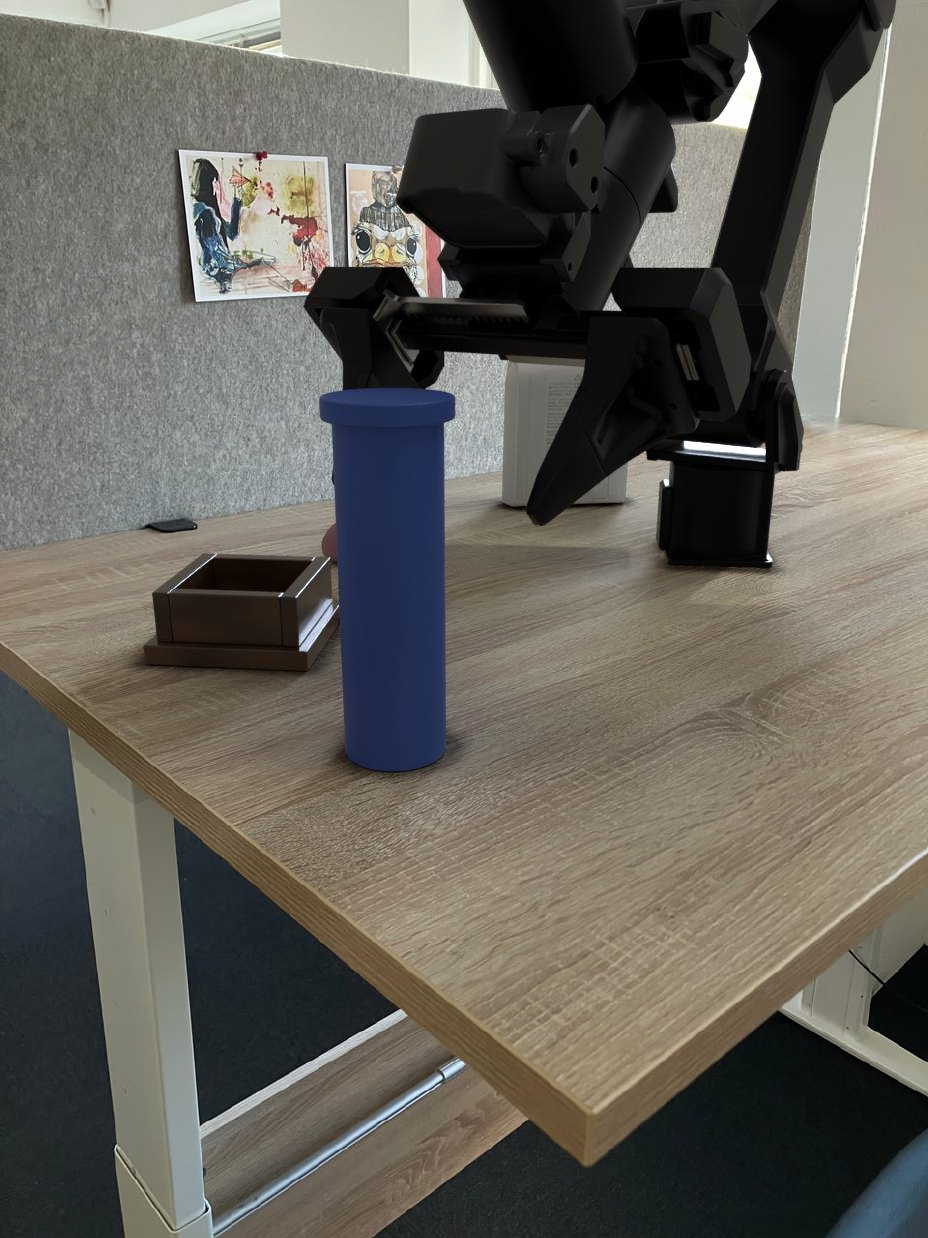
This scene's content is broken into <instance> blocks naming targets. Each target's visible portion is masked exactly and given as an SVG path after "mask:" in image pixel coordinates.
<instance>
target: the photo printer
mask: <svg viewBox="0 0 928 1238" xmlns="http://www.w3.org/2000/svg"><path fill="white" fill-rule="evenodd" d="M583 372H584V367H577V366H560V365H544V364H528V363H514V362H511V361H508V362H507V367H506V374H505V380H504V398H503V399H504V400H503V401H504V402H503V404H504V405H503V406H504V407H503V439H502V440H503V442H502V443H503V444H502V475H501V476H502V477H501V478H502V479H501V480H502V481H501V501H502V503H504V505H507V506H509V507H514V508H515V507H517V508H518V507H526V505H527V502H528V499H529V496H530V493H531V491H532V488H533V485H534V482H535V479H536V476H537V474H538V471H539V469H540V467H541V465H542V463H543V461H544V458H545V456H546V454H547V452H548V450H549V448H550V446H551V444H552V442H553V440H554V437H555V435H556V433H557V431H558V429H559V427H560V425H561V423H562V421H563V419H564V416H565V414H566V412H567V410H568V408H569V406H570V404H571V402H572V400H573V398H574V395H575V393H576V391H577V389H578V387H579V385H580V383H581V380H582V377H583ZM628 467H629V462H628V463H626V464H625V465H623V466H622V467H620V468H619V469H617V470H616V471H615V472H613V473H612V474H611V475H609V476H608V477H606V478H605V479H604V480H603V481H601V482H600V483H599V484H598V485H596V486H595V487H594V488H592V489H591V490H590V491H589V492H587V493H586V494H585V495H583V496H582V497H581V498H580V499H578V500H577V501H576V502H574V503H573V504H572V505H585V504H589V505H590V504H621V503H624V502H625V500H626V496H627V488H628V487H627V483H628V470H629V469H628Z"/></svg>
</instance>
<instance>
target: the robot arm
mask: <svg viewBox="0 0 928 1238" xmlns="http://www.w3.org/2000/svg"><path fill="white" fill-rule="evenodd" d="M462 2H463V5H464V8H465V10H466V13H467V15H468V17H469V20H470V22H471V24H472V27H473V29H474V31H475V32H474V33H475V34H476V36H477V39H478V41H479V44H480V47H481V48H482V51H483V53H484V56H485V58H486V61H487V63H488V66H489V68H490V70H491V72H492V75H493V78H494V79H495V82H496V85H497V87H498V90H499V92H500V94H501V97H502V99H503V102H504V104H505V106H506V108H502V107H488V108H477V109H467V110H457V111H456V110H455V111H446V112H435V113H427V114H426V113H425V114H422V115H419V116H418V117H417V118H416V119H415V121H414V125H413V128H412V133H411V136H410V137H411V138H410V141H409V145H408V149H407V152H406V153H407V154H406V157H405V161H404V164H403V168H402V172H401V177H400V181H399V185H398V188H397V192H396V195H395V203H396V205H397V207H398V208H399V209H400V210H401V211H402V212H403V213H404V214H406V215H413V216H415V217H416V218H417V219H418V220H419V221H421V223H423V224H424V225H425V227H427V228H428V229H429V230H430V231H432V232H433V234H434V235H436V236H437V237H438V238H439V239H441V241H443V242H445V243H444V245H443V247H442V249H441V251H440V253H439V254H438V256H437V258H436V261H437V262H438V264H439V266H440V269H441V270H442V272H443V273H444V275H445V277H446V279H447V281H449V282H458V284H459V287H460V288H461V291H460V293H459V294H458V297H439V296H438V297H435V296H434V297H433V296H421V294H420V293H419V291H418V289H417V288H416V287H415V285H414V283H413V281H412V279H411V278H410V276H409V275H408V273H407V271H406V270H405V268H404V266H324V267H323V269H322V270H321V272H320V274H319V276H318V277H317V279H316V280H315V282H314V284H313V285H312V288H311V289H310V290H309V292H308V294H307V295H306V298H305V300H304V303H303V307H302V308H303V309H304V311H305V312H306V313H307V315H308V316H309V318H310V320H312V321H313V324H314V325H315V326H316V327H317V329H318V330H319V331H320V333H321V334H322V336H323V337H324V338H325V340H326V341H327V342H328V344H329V345H330V346H331V348H332V349H333V351H334V352H335V354H336V355H337V356H338V358H339V359H340V360H341V363H342V390H352V389H366V388H416V389H429V388H430V387H431V386H433V385H435V384H436V382H437V381H438V379H439V377H440V375H441V373H442V371H443V369H444V368H445V365H446V364H445V353H459V354H460V353H461V354H477V355H478V354H479V355H495V356H497V357H498V358H499V360H500V361H508V362H509V361H511V362H514V363H528V364H544V365H560V366H577V367H584V372H583V377H582V380H581V383H580V385H579V387H578V389H577V391H576V393H575V395H574V398H573V400H572V402H571V404H570V406H569V408H568V410H567V412H566V414H565V416H564V419H563V421H562V423H561V425H560V427H559V429H558V431H557V433H556V435H555V437H554V440H553V442H552V444H551V446H550V448H549V450H548V452H547V454H546V456H545V458H544V461H543V463H542V465H541V467H540V469H539V471H538V474H537V476H536V479H535V482H534V485H533V488H532V491H531V493H530V496H529V499H528V502H527V505H526V506H525V513H526V516H527V517H528V519H529V520H530V522H531V523H532V525H533V526H536V527H545V526H546V525H548V524H549V523H550V522H552V521H553V520H554V519H556V518H557V517H558V516H559V515H561V514H562V513H563V512H564V511H566V510H567V509H569V507H571V506H572V505H574V504H573V503H574V502H576V501H577V500H578V499H580V498H581V497H582V496H583V495H585V494H586V493H587V492H589V491H590V490H591V489H592V488H594V487H595V486H596V485H598V484H599V483H600V482H601V481H603V480H604V479H605V478H606V477H608V476H609V475H611V474H612V473H613V472H615V471H616V470H617V469H619V468H620V467H622V466H623V465H625V464H626V463H628V464H629V462H631V461H632V460H634V459H635V458H637V457H639V456H640V455H642V454H643V453H645V455H646V457H645V458H646V460H647V461H649V462H650V461H651V462H657V461H662V462H669V469H668V471H669V473H668V478H666V479H665V478H664V479H661V480H660V481H659V486H658V498H657V499H658V500H657V502H658V503H657V517H656V533H655V540H656V543H657V547H658V548H659V549H660V551H663V553H664V557H665V560H666V564H667V565H668V566H674V567H699V568H700V567H703V568H732V569H733V568H734V569H735V568H736V569H765V570H766V569H767V570H768V569H772V568H773V563H774V560H773V559H772V557H771V555H770V553H769V552H768V550H769V548H768V547H769V539H770V532H771V531H770V529H771V522H772V521H771V519H772V512H773V511H772V510H773V499H774V490H775V480H776V475H777V474H779V473H782V472H784V473H786V472H798V471H799V470H800V465H801V457H802V456H801V455H802V452H803V448H804V444H803V441H804V435H805V429H804V424H803V419H802V416H801V410H800V407H799V403H798V397H797V394H796V389H795V386H794V381H793V377H792V371H793V360H792V357H791V354H790V352H789V348H788V346H787V342H786V339H785V337H784V335H783V332H782V329H781V326H780V323H779V319H778V318H779V314H780V310H781V306H782V301H783V298H784V294H785V291H786V287H787V283H788V279H789V276H790V272H791V268H792V264H793V260H794V256H795V253H796V249H797V246H798V243H799V242H798V241H799V238H800V234H801V231H802V226H803V222H804V219H805V215H806V211H807V208H808V204H809V201H810V196H811V193H812V189H813V186H814V182H815V178H816V175H817V170H818V166H819V162H820V159H821V155H822V152H823V149H824V144H825V140H826V136H827V132H828V129H829V125H830V121H831V117H832V114H833V110H834V108H835V105H836V104H837V103H838V102H839V101H841V99H842V98H844V96H846V94H848V93H849V91H851V90H852V89H853V88H854V87H855V86H856V85H857V84H858V83H859V82H860V81H861V80H862V79H863V78H864V77H865V76H866V75H867V74H868V73H869V72H870V70H871V69H872V66H873V63H874V60H875V57H876V54H877V52H878V48H879V45H880V42H881V39H882V36H883V33H884V30H888V29H890V27H891V26H892V23H893V21H894V16H895V12H896V6H897V0H462ZM750 49H751V51H752V54H753V57H754V59H755V63H756V65H757V68H758V71H759V74H760V81H759V86H758V89H757V93H756V96H755V99H754V103H753V108H752V111H751V115H750V118H749V121H748V126H747V129H746V133H745V136H744V140H743V143H742V147H741V151H740V155H739V158H738V163H737V167H736V169H735V172H734V176H733V180H732V184H731V187H730V191H729V195H728V199H727V202H726V206H725V210H724V212H723V213H724V214H723V217H722V221H721V224H720V227H719V232H718V235H717V238H716V243H715V246H714V249H713V253H712V257H711V261H710V264H709V267H649V266H648V267H642V266H641V267H640V266H639V267H635V266H634V263H633V261H632V258H631V255H630V253H631V251H632V249H633V247H634V244H635V242H636V240H637V238H638V235H639V234H640V231H641V230H642V227H643V226H644V223H645V221H646V219H647V217H648V215H649V214H673V213H675V212H676V211H677V210H678V207H679V186H678V183H677V179H676V176H675V172H674V168H673V166H672V164H673V161H674V159H675V157H676V154H677V142H676V137H675V131H674V128H673V126H681V125H693V124H695V125H696V124H704V123H706V124H707V123H713V122H714V121H715V120H716V119H718V118H719V117H720V116H721V115H722V113H723V112H724V110H725V109H726V107H727V105H728V104H729V102H730V100H731V99H732V97H733V95H734V93H735V92H736V90H737V88H738V87H739V85H740V83H741V81H742V79H743V77H744V76H745V74H746V62H747V61H748V58H749V51H750ZM610 296H612V298H613V301H614V303H615V304H616V305H617V307H618V308H619V309H620V310H610V309H609V310H607V309H606V310H605V306H606V304H607V302H608V300H609V298H610ZM342 390H341V391H342ZM763 444H764V448H760V447H762V445H763ZM331 483H332V485H333V486H334V471H333V470H332V472H331Z"/></svg>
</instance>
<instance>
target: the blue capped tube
mask: <svg viewBox="0 0 928 1238" xmlns="http://www.w3.org/2000/svg"><path fill="white" fill-rule="evenodd" d="M318 407H319V409H318V410H319V418H320V420H321V421H322V422H324V423H326V424H329V425H331V445H332V471H334V485H333V490H334V491H333V493H334V515H335V516H334V517H335V523H336V542H337V563H336V564H337V565H336V566H337V584H338V585H337V586H338V587H337V588H338V599H339V612H340V623H339V633H340V635H339V636H340V656H341V657H340V658H341V679H342V680H341V681H342V682H341V683H342V703H343V727H344V730H343V731H344V750H345V751H344V752H345V754H346V756H347V757H348V759H349V760H350V761H352V762H353V763H354V764H356V765H358V766H360V767H362V768H366V769H369V770H375V771H379V772H404V771H405V772H406V771H411V770H412V771H413V770H416V769H420V768H421V769H422V768H424V767H426V766H429V765H431V764H434V763H435V762H437V761H438V760H440V759H441V758H442V757H443V756H444V754H445V752H446V750H447V657H446V656H447V655H446V654H447V651H446V650H447V648H446V647H447V646H446V645H447V643H446V637H447V635H446V493H445V492H446V491H445V490H446V489H445V488H446V487H445V484H446V483H445V482H446V481H445V477H446V476H445V475H446V474H445V472H446V471H445V469H446V468H445V467H446V466H445V424H447V423H448V422H451V421H453V420H455V418H456V396H455V395H454V394H453V393H451V392H448V391H444V390H437V389H429V388H426V389H416V388H366V389H352V390H336V391H335V390H334V391H329V392H326V393H324V394H321V395H320V396H319V398H318Z"/></svg>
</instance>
